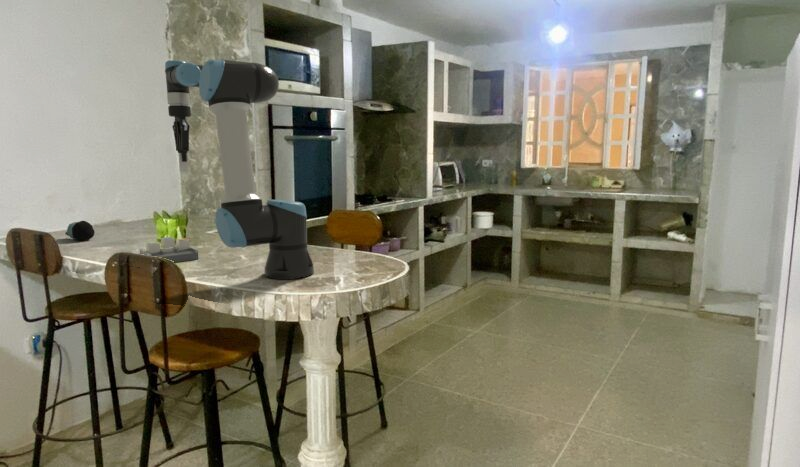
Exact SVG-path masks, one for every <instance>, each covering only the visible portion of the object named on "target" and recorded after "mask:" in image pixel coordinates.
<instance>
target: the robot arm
mask: <svg viewBox="0 0 800 467" xmlns="http://www.w3.org/2000/svg"><path fill="white" fill-rule="evenodd" d="M164 67H165V68H164V72H165V73H164V74H165V81H166V83H165V84H166V96H167V100H166V101H167V104H168V116H169V117H174V121H173V125H172V127H171V128H172V131H173V136H174V142H175V150H176V151H177V154H178V164H179V166H178V167H179V171H180V172H184V171H186V172H188V171H189V160H188V152H189V151H190V127H191V126H190V124H188V121H187V118H191V116H192V111H191V106H190V105H191V99H192V96H190V87H191V88H199V90H198V91H199V92H198V93H199V96H200V98H201V100H202V101H204V102H207V103H208V109H209V110H210V111H211V112H212V113H213V114H214V116H215V121H216V131H217V137H218V144H219V154H220V162H221V171H222V177H223V186H224V195H225V196H224V198H223V199H222V200H221V202H220V208H218V209H217V210H216V211H215V214H214V217H215V219H214V221H215V228H216V230H217V233H218V237H219V238H220V240H221V241H222V243H223V244H224V245H225V246H226V247H228V248H230V249H231V248H232V249H233V248H246V247H255V246H260V245H269V246H268V250H269V251H268V254H267V258H266V262H265V266H264V276H265V278H269V279H274V280H292V279H291V278H297V279H301V278H300V277H303V278H306V276H307V277H309V275H310V276H312V275H313V274H314V273H315V272H314V270H315V268H314V267H315V266H314V262H313V261H312V260H313V259H312V258H311V255H310V252H309V249H308V227H307V226H308V224H307V223H308V222H307V218H308V216H307V209H306V205H305V204H304V203H303V202H301V201H294V200H286V199H285V200H283V199H267V202H266V205H265V204H263V199H262V197H261V196H259V195H257V192H256V185H255V184H256V183H255V176H254V175H255V174H254V169H253V160H252V159H253V158H252V152H251V151H252V150H251V144H250V143H251V142H250V135H249V134H250V133H249V124H248V117H247V112H248V111H249V110H250V109H251V108H252V106H251V104H252V103H253V104H258V103H260V104H261V103H264V102H267V101H270V100H271V99H273V98H274V97H275V96H276V95H277V93H278V91H279V88H280V87H279V85H280V84H279V78H278V76H277V74H276V72H275V71H274V69H272V68H270V67H269V66H267V65H266V64H262V63H258V62H248V61H239V60H238V61H237V60H229V59H228V60H227V59H223V58H222V59H208V60H206V61H205V62H204V64H203V65H202V64H196V63H193V62H186V61H184V60H179V59H178V60H176V59H172V60H167V61H165V64H164ZM311 274H312V275H311Z"/></svg>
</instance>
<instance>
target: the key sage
mask: <svg viewBox="0 0 800 467" xmlns="http://www.w3.org/2000/svg"><path fill="white" fill-rule="evenodd" d="M145 247H146V251H147V252H148V253H155V252H160V249H161V242H158V241H149V242H146V243H145Z"/></svg>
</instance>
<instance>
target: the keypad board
mask: <svg viewBox="0 0 800 467" xmlns="http://www.w3.org/2000/svg"><path fill="white" fill-rule="evenodd" d="M198 249H199V248H196V247H193V246H191V245H190V248H188V249H180V250H179V249H178V248H177V246H175V247H171V248H162V249H161V248H160V252H155V253H148V252H147V250H144V249H143V248H139V255H140V254H144V255H149V256H157V257H162V258H166V259H169V260H172V261H174V262H175V263H180V262H189V261H196V260H197V261H198V260H199V250H198Z"/></svg>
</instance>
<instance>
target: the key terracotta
mask: <svg viewBox="0 0 800 467" xmlns="http://www.w3.org/2000/svg"><path fill="white" fill-rule="evenodd" d="M190 246H191V245H190V239H189V238H187V237H183V238H177V239H175V247H177V248H178V249H179V250H180V249H188V248H190Z"/></svg>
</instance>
